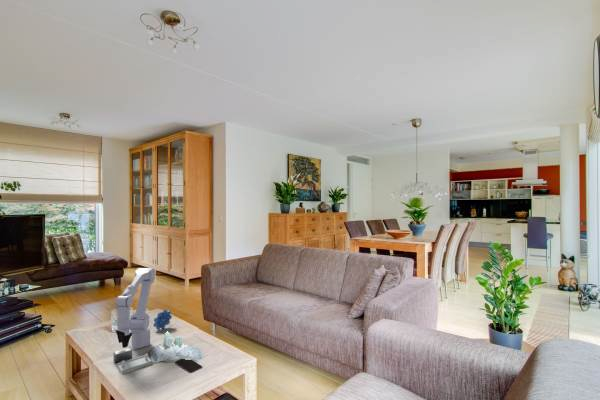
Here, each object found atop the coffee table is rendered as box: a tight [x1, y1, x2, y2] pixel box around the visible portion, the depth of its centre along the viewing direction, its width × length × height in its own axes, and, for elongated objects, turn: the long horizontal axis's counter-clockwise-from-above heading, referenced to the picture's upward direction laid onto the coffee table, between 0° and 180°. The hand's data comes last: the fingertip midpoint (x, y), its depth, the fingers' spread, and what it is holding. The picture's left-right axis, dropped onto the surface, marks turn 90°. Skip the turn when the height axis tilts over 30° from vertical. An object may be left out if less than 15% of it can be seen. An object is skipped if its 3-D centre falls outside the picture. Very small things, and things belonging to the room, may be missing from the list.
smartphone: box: [174, 358, 203, 374], centre depth 160 cm, size 7×1×15 cm
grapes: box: [153, 309, 173, 331], centre depth 205 cm, size 12×7×12 cm, turn 135°
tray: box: [116, 353, 153, 375], centre depth 159 cm, size 14×9×4 cm, turn 133°
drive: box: [113, 347, 134, 365], centre depth 164 cm, size 8×4×5 cm, turn 133°
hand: (123, 344), depth 164 cm, fingers open, 7 cm apart
